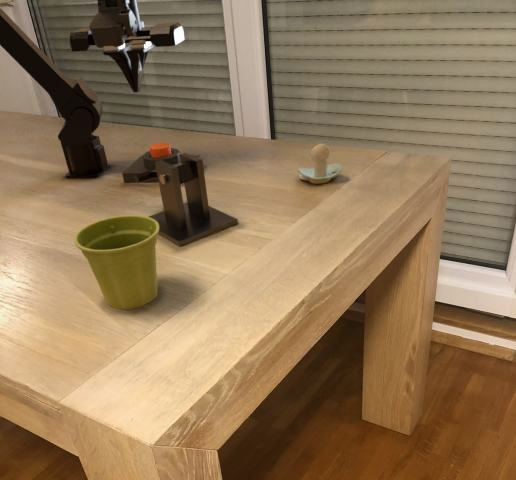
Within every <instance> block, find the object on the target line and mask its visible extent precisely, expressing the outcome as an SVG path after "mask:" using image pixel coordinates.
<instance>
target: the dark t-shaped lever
mask: <svg viewBox="0 0 516 480" xmlns="http://www.w3.org/2000/svg"><path fill="white" fill-rule="evenodd" d="M173 166H176V167H177V168H178V174H179V180H180V185H184V183H186V182H189V181H192V180H194V177H193V173H192V169H191V166H190V163H178V164H175V165H173ZM134 178H135V181H136V182H137V183H136V184H142V183H141V182H144V181H147V180H150V179H154V178H158V175H157V170H156V168H155V169H151V170H148V171H145V172H142V173H139V174H135V175H134Z"/></svg>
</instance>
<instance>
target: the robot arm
mask: <svg viewBox="0 0 516 480" xmlns="http://www.w3.org/2000/svg"><path fill="white" fill-rule="evenodd" d="M96 4H97V8H98V11H97V13H96V14H95V15H94V16H93V18H92V20H91V21H90V23H89V26H88V27H84V28H83V27H81V28H79V29H76V30H74V31H71V32H69V35H68V39H67V40H68V45H69V50H70V52H72V53H74V52H87V51H89V49H90V47H91V46H96V48H99V49H103V50H104V51H102V54H103V56H108V57H110V58H111V59H112V60H113V61H114V62H115V63H116V65H117V66H118V68H119V69H120V70H121V72H122V74H123V76H124V78H125V79H126V81H127V83H128V85H129V87H130V88H131V90H132V92H133V93H139V92H140V91H141V85H142V81H143V75H144V69H145V64H146V61H147V58H148V54H149V51H150V50H153V49H154V47H156V48H163V47H164V48H165V47H174V46H177V45H179V44H180V43H182V42H184V41H185V40H186V39H185V32H184V31H185V30H184V27H183V26H182V24H181V23H180V22H179V21H176V22H175V21H173V22H160V23H157V24H154V25H153V26H151V27H150V29H148V28H147V29H145V22H144V21H143V20H142V21H141V15H140V9H139V4H138V0H97V3H96ZM126 44H128V45H126ZM0 47H1V48H3V50H4V51H5V52H6V53H7V54H8V55H9V56H10V57H11V58H12V59H13V60H14V61H15V62H16V63H18V65H19V66H20V67H21V68H22V69H23V70H24V71H25V72H26V73H27V74H28V75H29V76H30V77H31V78H32V79H33V80H34V81H35V82H36V83H37V84H38V85H39V86H40V87H41V88H42V89H43V90H44V91H45V92H46V93H47V95H48V96H49V97H50V99H51V101H52V103H53V104H54V106H55V108H56V110H57V111H58V113H59V114H60V116H61V117H62V118H63V119H64V122H63V124H62V127H61V129H60V130H59V133H58V134H57V139H58V140H59V142H60V145H61V148H62V152H63V155H64V159H65V163H66V167H67V171H68V172H67V173H65V175H64V177H65V179H96V178H99V177H100V176H101V175H102V174H103V173H104V172H106V171H107V170H108V169H109V168H110V167H111V165H110V163H108V159H107V154H106V151H105V150H106V149H105V146H104V144H102V143H101V138H100V136H99V135H94V132H96V131H97V129H98V128H99V126H100V123H101V120H102V117H103V105H102V102H101V101H100V99H99V98H98V97H99V92H97V91H94V90H93V89H92V88H91V87H90V86H89V85H88V83H87V82H86V80H85V79H84V78H83V76H80V77H79V78H78V79H77V80H74V79H72V78H71V77H69V76H67V75H66V74H65V73H63V72H62V70H61V69H60V68H59V67H58V66H57V65H56V64H55V63H54V62H53V61H52V60H51V59H50V58H49V57H48V56H47V54H45V53H44V51H43V50H42V49H40V47H39V46H38V45H37V44H35V42H34V41H33V40H32V39H31V38H30V37H29V36H28V35H27V33H25V32H24V31H23V30H22V28H20V26H18V25H17V24H16V22H15V21H13V19H12V18H11V17H10V16H9V15H8V14H7V13H6V12H5V11H4V10H3V8H1V7H0Z"/></svg>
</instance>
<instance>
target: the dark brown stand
mask: <svg viewBox="0 0 516 480" xmlns="http://www.w3.org/2000/svg"><path fill="white" fill-rule="evenodd" d="M192 155H193V154H189V153H187V152H184V153H180V160H181V163H190V166H191V169H192V173H193V177H194V180H192V181H189V182H186V183H183V186H184V191H185V196H186V197H185V198H186V202H185V203H184V199H183V192H182V187H181V184H180V180H179V174H178V168H177V167H176V166H173V165H171V164H169V163H166V162H164V161H161V160H160V161H157V162H155V165H156V170H157V175H158V181H159V183H158V185H159V186H158V187H159V190H160V196H161V201H162V207H163V211H160V212H157V213H154V214H151V215H148V217H150V218H152V219H154V220H156V221H157V222H158V224H159V232H158V234H157V236H158V235H159V236H160V237H162V238H163V239H165V240H166V241H168V242H170V243H172V244H173V245H175V246H177V247H179V248H181V247H183V246H186V245H188V244H191V243H194V242H197V241H199V240H201V239H204V238H206V237H209V236H211V235H213V234H216V233H219V232H222V231H224V230H227V229H229V228H232V227H234V226H236V225H239V220H238V218H236V217H234V216H232V215H230V214H227V213H225V212H223V211H221V210H219V209H216V208H215V207H213V206H210V205H209V198H208V192H207V185H206V177H205V176H206V175H205V168H204V161H202V159H203V158H202V159H200V158H197V157H195V156H192Z"/></svg>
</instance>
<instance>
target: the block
mask: <svg viewBox="0 0 516 480" xmlns="http://www.w3.org/2000/svg"><path fill="white" fill-rule="evenodd" d="M170 148H171V154H172V155H169V156H167V157H162V158H153V157H151V153H150V150H149V151H146V152H144V153H143V154H142V155H140V156H139V157H137V159H136V160H135V161H134V162H132V163H131V164H130V165H129V166H128V167H127V168H126V169H125V170H124V171H123V172H121V174H122V179H123V183H124V184H138V183H137V182H136V181H135V178H134V175H135V174H139V173H142V172H145V171H148V170H151V169H155V168H156V165H155V162H157V161H160V160H161V161H164V162H166V163H169V164H171V165H175V164H178V163H181V160H180V154H181V151H180V150H179V149H177V148H173V147H170ZM191 155H192V156H195V157H197V158H200V159H202V161H203V159H204V158H203V155H201V154H198V155H197V154H196V155H195V154H191ZM203 162H204V161H203ZM140 184H159V181H158V178H154V179H150V180H147V181H144V182H141V183H140Z"/></svg>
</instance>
